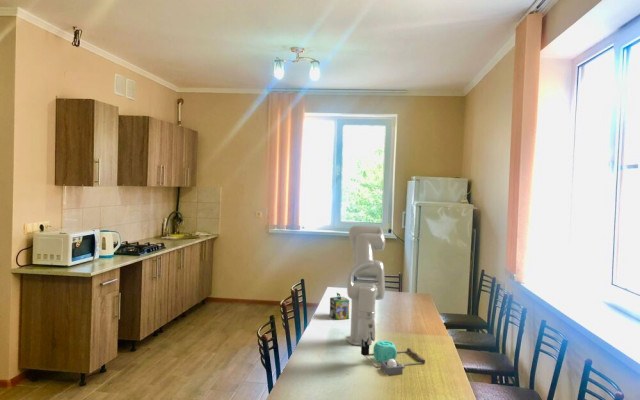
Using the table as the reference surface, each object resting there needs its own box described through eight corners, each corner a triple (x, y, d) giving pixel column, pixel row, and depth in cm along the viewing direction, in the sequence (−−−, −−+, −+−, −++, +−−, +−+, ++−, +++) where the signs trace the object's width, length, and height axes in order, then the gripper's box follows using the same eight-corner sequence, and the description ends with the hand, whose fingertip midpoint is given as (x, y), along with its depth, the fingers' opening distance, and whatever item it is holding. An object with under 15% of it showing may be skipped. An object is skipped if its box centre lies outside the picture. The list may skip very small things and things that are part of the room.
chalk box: (349, 319, 266) (350, 294, 266) (335, 320, 263) (336, 295, 262) (342, 314, 275) (343, 290, 274) (329, 315, 272) (330, 291, 271)
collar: (380, 368, 196) (381, 361, 196) (395, 367, 198) (395, 360, 198) (387, 375, 190) (387, 368, 190) (402, 373, 192) (402, 366, 192)
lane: (362, 353, 213) (362, 349, 213) (406, 349, 220) (407, 346, 220) (379, 370, 194) (379, 366, 194) (427, 365, 201) (427, 362, 201)
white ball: (385, 367, 195) (385, 357, 195) (393, 366, 197) (394, 356, 196) (389, 371, 191) (389, 361, 191) (398, 370, 193) (398, 360, 192)
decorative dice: (372, 358, 208) (373, 341, 208) (387, 356, 211) (388, 339, 211) (381, 364, 201) (381, 347, 200) (396, 362, 203) (397, 345, 203)
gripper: (380, 318, 196) (379, 359, 196) (367, 309, 210) (366, 348, 210) (365, 319, 193) (363, 361, 194) (352, 310, 208) (351, 349, 208)
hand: (364, 354), depth 202 cm, fingers closed
